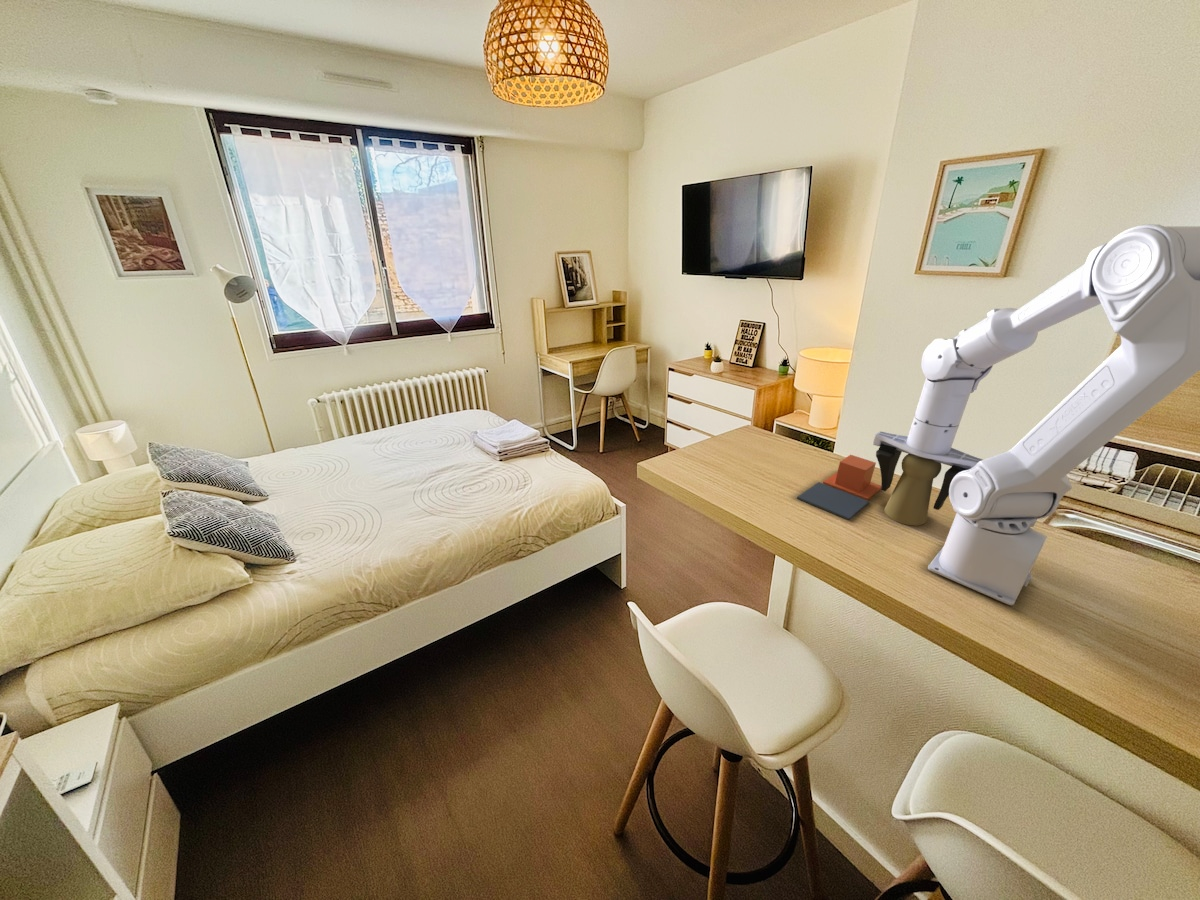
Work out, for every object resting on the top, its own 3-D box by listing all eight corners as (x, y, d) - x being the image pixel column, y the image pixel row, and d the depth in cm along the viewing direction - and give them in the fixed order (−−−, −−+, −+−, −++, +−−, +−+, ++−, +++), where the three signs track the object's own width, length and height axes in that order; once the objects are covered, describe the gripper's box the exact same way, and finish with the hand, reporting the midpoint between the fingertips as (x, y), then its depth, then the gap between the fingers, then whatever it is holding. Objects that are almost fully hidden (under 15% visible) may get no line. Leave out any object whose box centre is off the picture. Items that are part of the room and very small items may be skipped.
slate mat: (868, 503, 81) (869, 501, 81) (848, 520, 76) (849, 518, 76) (818, 483, 87) (818, 481, 87) (796, 498, 82) (797, 496, 82)
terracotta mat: (882, 488, 85) (882, 486, 85) (867, 500, 82) (868, 498, 81) (838, 472, 91) (838, 470, 91) (822, 483, 87) (823, 481, 87)
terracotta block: (869, 484, 86) (876, 462, 84) (859, 492, 83) (865, 470, 81) (845, 475, 89) (850, 454, 87) (834, 483, 86) (839, 461, 84)
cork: (924, 529, 74) (946, 468, 69) (881, 517, 77) (899, 457, 72) (927, 513, 78) (948, 454, 73) (887, 501, 81) (904, 444, 76)
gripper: (1002, 427, 67) (970, 506, 73) (894, 401, 77) (873, 473, 83) (990, 440, 63) (957, 523, 69) (877, 411, 73) (856, 486, 79)
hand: (910, 497), depth 76 cm, fingers open, 7 cm apart
